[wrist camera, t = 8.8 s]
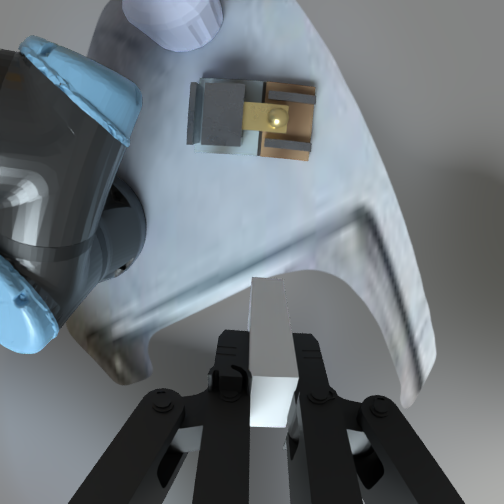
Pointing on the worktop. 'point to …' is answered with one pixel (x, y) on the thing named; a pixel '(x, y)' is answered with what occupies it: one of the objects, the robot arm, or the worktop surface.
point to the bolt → (265, 117)
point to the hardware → (231, 115)
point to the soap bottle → (176, 21)
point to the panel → (254, 140)
